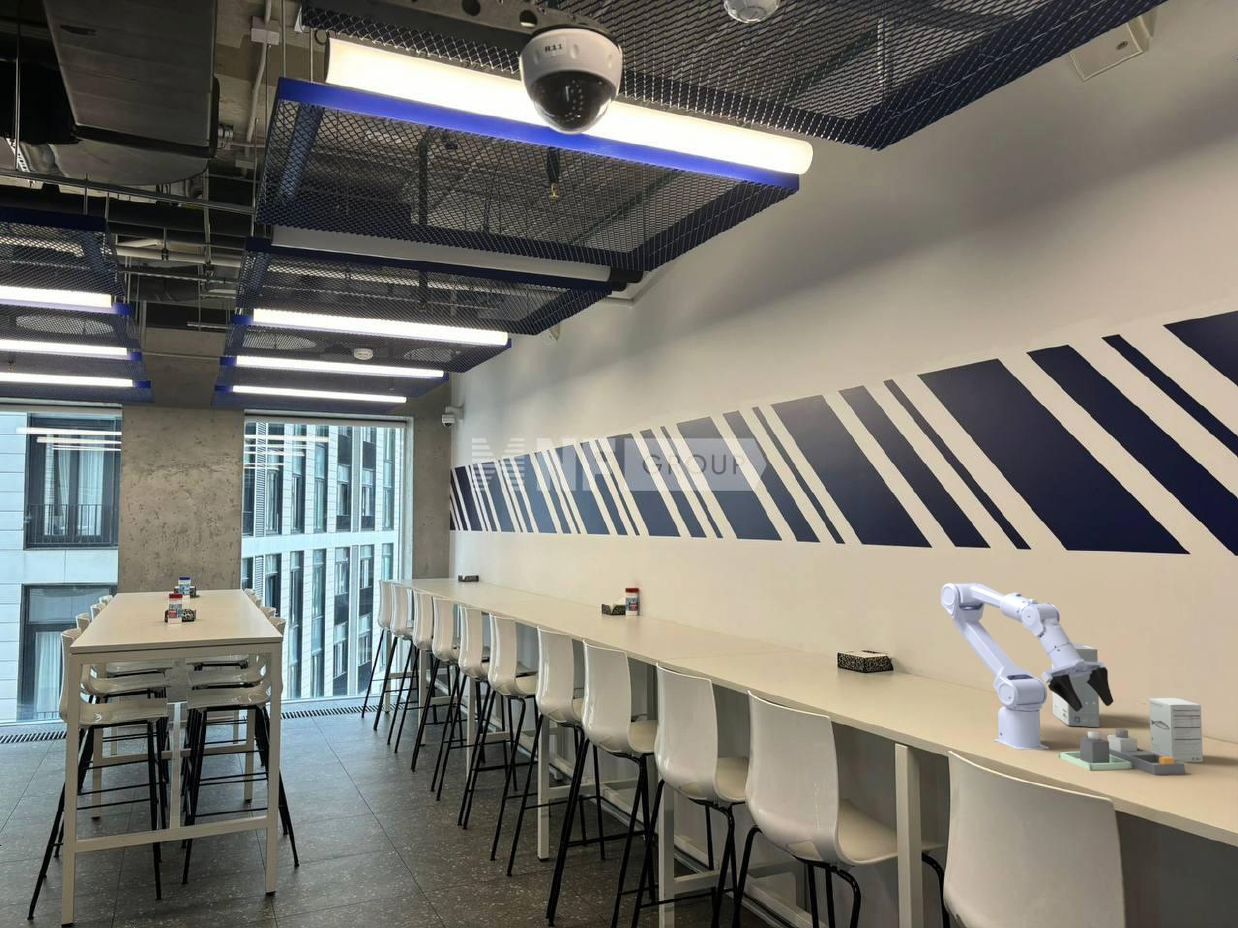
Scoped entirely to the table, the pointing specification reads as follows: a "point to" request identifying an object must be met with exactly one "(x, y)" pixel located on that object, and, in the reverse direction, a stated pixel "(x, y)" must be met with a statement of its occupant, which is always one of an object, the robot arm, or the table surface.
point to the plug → (1094, 749)
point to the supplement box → (1176, 729)
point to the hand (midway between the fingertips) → (1094, 706)
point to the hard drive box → (1079, 695)
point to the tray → (1113, 765)
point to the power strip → (1151, 762)
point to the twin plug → (1122, 741)
